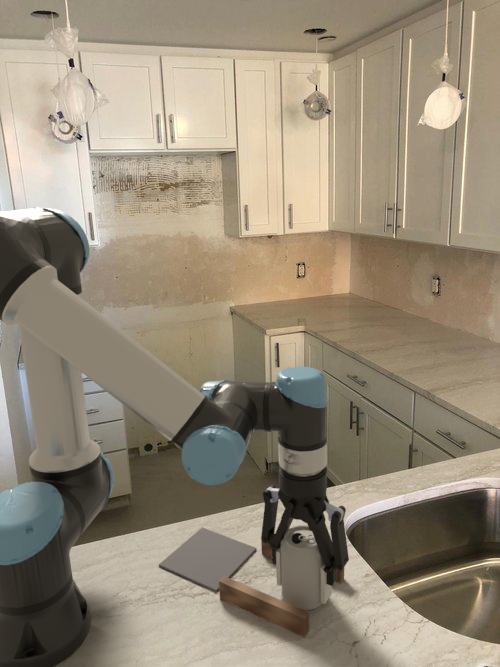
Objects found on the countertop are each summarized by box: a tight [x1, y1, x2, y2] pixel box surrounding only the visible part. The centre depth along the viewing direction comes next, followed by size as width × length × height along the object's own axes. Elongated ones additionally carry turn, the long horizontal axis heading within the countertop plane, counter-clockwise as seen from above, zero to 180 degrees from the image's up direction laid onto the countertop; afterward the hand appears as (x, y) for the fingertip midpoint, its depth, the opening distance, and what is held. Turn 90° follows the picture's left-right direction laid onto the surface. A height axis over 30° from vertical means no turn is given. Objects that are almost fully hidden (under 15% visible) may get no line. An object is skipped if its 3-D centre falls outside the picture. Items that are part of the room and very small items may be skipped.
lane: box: [218, 539, 345, 638], centre depth 93 cm, size 16×15×4 cm
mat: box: [158, 527, 257, 593], centre depth 102 cm, size 13×13×1 cm
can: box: [281, 524, 324, 611], centre depth 90 cm, size 8×8×12 cm
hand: (303, 588), depth 91 cm, fingers closed on can, 7 cm apart
